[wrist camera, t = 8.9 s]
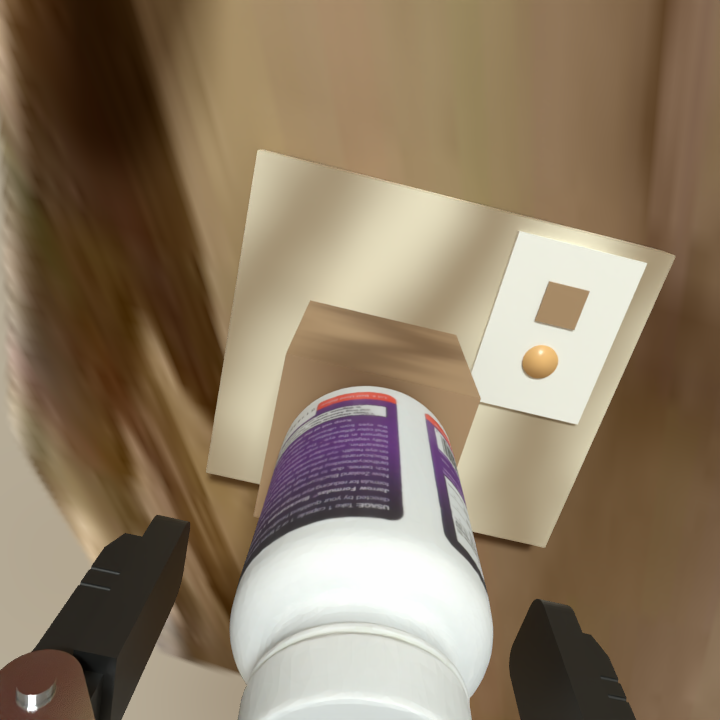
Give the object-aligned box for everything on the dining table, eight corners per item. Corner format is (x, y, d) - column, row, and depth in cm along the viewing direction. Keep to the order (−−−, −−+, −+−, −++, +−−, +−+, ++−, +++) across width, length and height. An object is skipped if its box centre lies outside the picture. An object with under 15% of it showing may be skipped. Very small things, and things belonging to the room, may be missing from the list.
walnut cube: (456, 334, 22) (480, 398, 17) (416, 460, 25) (426, 553, 19) (310, 300, 22) (286, 353, 17) (282, 430, 24) (253, 516, 19)
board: (660, 250, 22) (675, 255, 21) (538, 531, 27) (544, 547, 26) (264, 149, 21) (257, 150, 20) (213, 458, 26) (205, 472, 25)
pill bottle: (257, 490, 18) (135, 830, 9) (324, 352, 16) (256, 607, 7) (404, 551, 19) (425, 923, 10) (485, 425, 17) (600, 741, 8)
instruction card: (645, 262, 21) (648, 264, 21) (576, 422, 24) (578, 425, 23) (518, 230, 21) (520, 231, 21) (462, 395, 23) (463, 398, 23)
